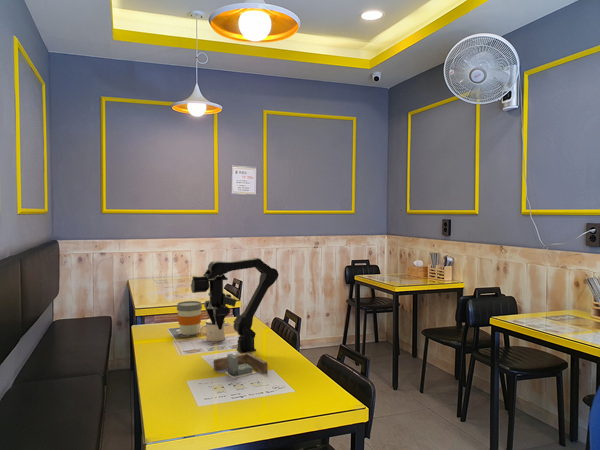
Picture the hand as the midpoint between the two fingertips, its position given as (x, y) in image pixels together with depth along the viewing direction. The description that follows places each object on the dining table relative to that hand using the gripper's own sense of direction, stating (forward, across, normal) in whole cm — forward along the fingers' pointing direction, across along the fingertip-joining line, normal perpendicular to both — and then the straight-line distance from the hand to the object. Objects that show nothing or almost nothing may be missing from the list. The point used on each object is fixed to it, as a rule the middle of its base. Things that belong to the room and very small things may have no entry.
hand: (217, 327), depth 198 cm
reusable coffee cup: (+12, +42, +2) cm, 44 cm away
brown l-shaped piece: (+12, -24, -3) cm, 27 cm away
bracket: (+12, -26, -1) cm, 28 cm away
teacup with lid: (+12, +24, -5) cm, 27 cm away
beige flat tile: (+12, -26, -1) cm, 29 cm away
